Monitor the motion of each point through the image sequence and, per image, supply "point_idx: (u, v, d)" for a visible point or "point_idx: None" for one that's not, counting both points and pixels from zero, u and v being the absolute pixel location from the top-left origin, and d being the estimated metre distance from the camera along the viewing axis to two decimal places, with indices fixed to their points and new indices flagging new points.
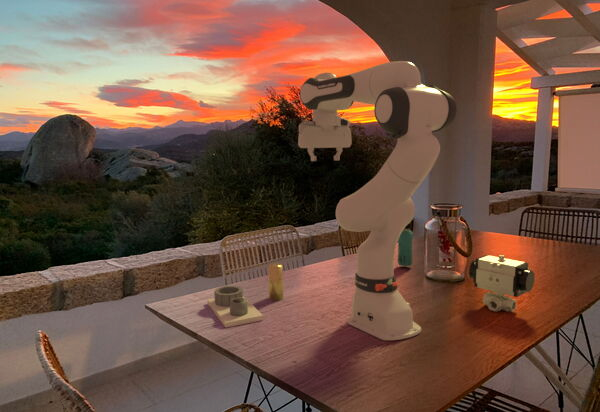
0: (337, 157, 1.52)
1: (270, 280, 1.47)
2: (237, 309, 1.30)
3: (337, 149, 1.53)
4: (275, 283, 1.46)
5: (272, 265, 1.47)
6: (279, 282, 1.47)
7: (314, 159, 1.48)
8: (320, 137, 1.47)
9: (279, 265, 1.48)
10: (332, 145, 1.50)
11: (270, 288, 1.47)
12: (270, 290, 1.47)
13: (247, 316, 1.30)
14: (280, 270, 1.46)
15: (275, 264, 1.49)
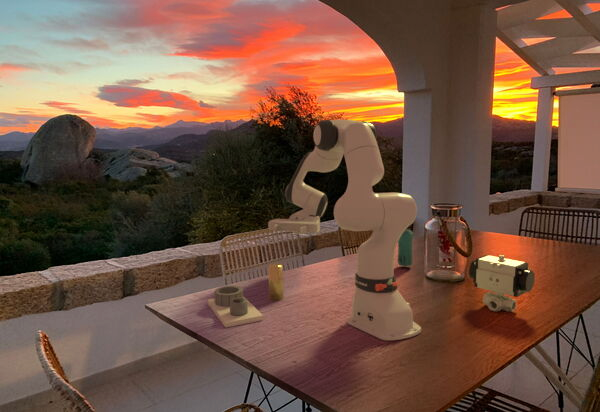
0: (299, 227, 1.57)
1: (270, 280, 1.47)
2: (237, 309, 1.30)
3: None
4: (275, 283, 1.46)
5: (272, 265, 1.47)
6: (279, 282, 1.47)
7: (275, 226, 1.60)
8: None
9: (279, 265, 1.48)
10: (296, 222, 1.62)
11: (270, 288, 1.47)
12: (270, 290, 1.47)
13: (247, 316, 1.30)
14: (280, 270, 1.46)
15: (275, 264, 1.49)
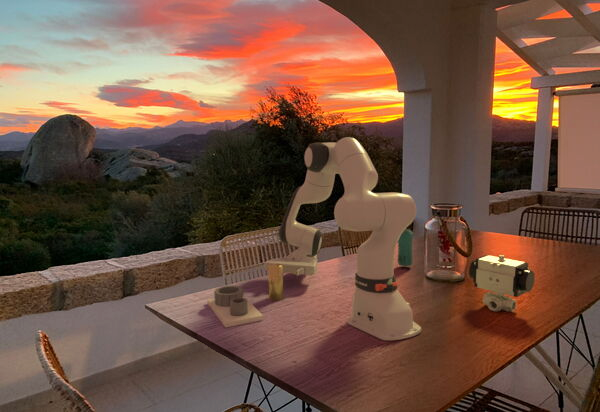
0: (296, 270, 1.55)
1: (270, 280, 1.47)
2: (237, 309, 1.30)
3: None
4: (275, 283, 1.46)
5: (272, 265, 1.47)
6: (279, 282, 1.47)
7: None
8: (284, 261, 1.64)
9: (279, 265, 1.48)
10: (293, 264, 1.60)
11: (270, 288, 1.47)
12: (270, 290, 1.47)
13: (247, 316, 1.30)
14: (280, 270, 1.46)
15: (275, 264, 1.49)
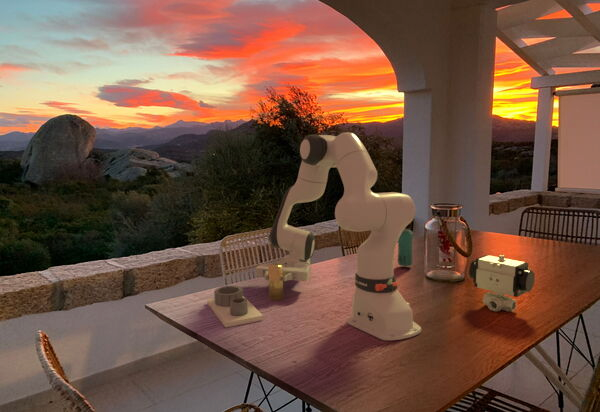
0: (283, 275, 1.48)
1: (270, 280, 1.47)
2: (237, 309, 1.30)
3: None
4: (275, 283, 1.46)
5: (272, 265, 1.47)
6: (279, 282, 1.47)
7: (266, 274, 1.49)
8: None
9: (279, 265, 1.48)
10: (285, 269, 1.52)
11: (270, 288, 1.47)
12: (270, 290, 1.47)
13: (247, 316, 1.30)
14: (280, 270, 1.46)
15: (275, 264, 1.49)
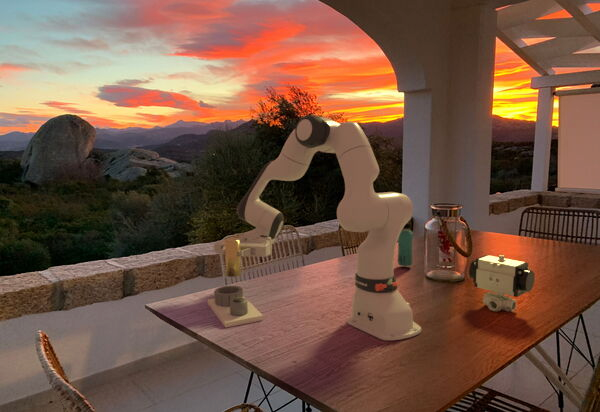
0: (240, 250, 1.40)
1: (226, 255, 1.40)
2: (237, 309, 1.30)
3: None
4: (231, 258, 1.39)
5: (229, 240, 1.40)
6: (236, 257, 1.40)
7: (223, 249, 1.42)
8: None
9: (236, 240, 1.40)
10: (243, 244, 1.45)
11: (226, 264, 1.40)
12: (226, 266, 1.40)
13: (247, 316, 1.30)
14: (237, 244, 1.39)
15: (232, 239, 1.42)
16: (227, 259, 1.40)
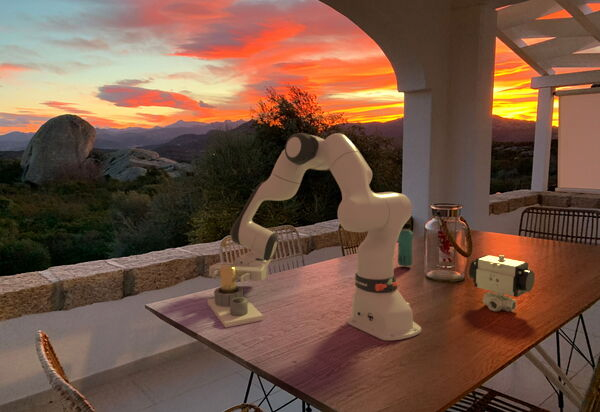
0: (240, 275, 1.40)
1: (222, 283, 1.40)
2: (237, 309, 1.30)
3: None
4: (226, 286, 1.39)
5: (224, 267, 1.40)
6: (231, 284, 1.40)
7: (214, 273, 1.43)
8: None
9: (231, 267, 1.40)
10: (239, 268, 1.45)
11: (222, 291, 1.40)
12: None
13: (247, 316, 1.30)
14: (232, 272, 1.39)
15: (228, 266, 1.42)
16: (223, 286, 1.40)
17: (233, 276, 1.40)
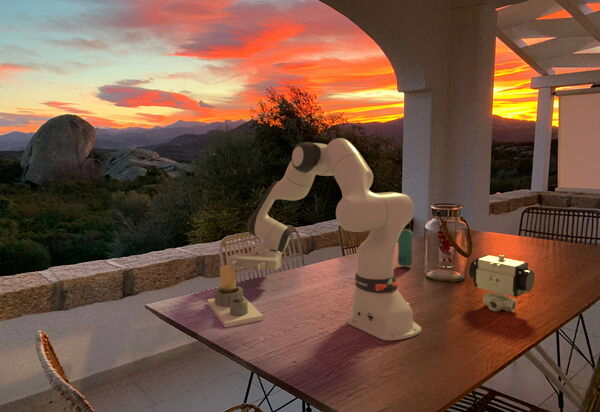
0: (257, 264, 1.52)
1: (222, 282, 1.40)
2: (237, 309, 1.30)
3: None
4: (226, 286, 1.39)
5: (224, 267, 1.41)
6: (231, 284, 1.40)
7: (233, 263, 1.55)
8: (247, 256, 1.61)
9: (231, 267, 1.41)
10: (255, 258, 1.57)
11: (222, 291, 1.40)
12: None
13: (247, 316, 1.30)
14: (232, 271, 1.40)
15: (228, 266, 1.42)
16: (223, 286, 1.40)
17: (233, 276, 1.40)
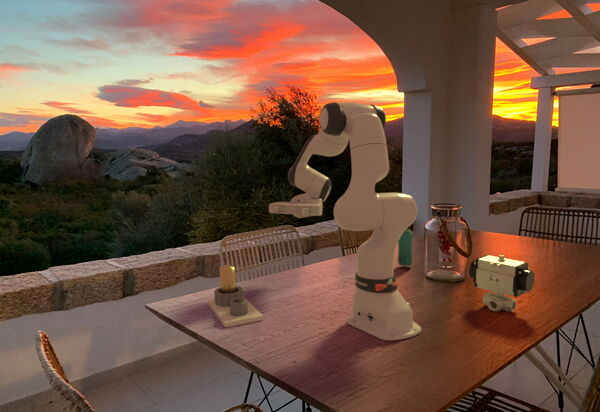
0: (301, 208, 1.52)
1: (222, 283, 1.40)
2: (237, 309, 1.30)
3: None
4: (226, 286, 1.39)
5: (223, 267, 1.40)
6: (231, 284, 1.40)
7: (276, 208, 1.55)
8: (289, 203, 1.61)
9: (231, 267, 1.41)
10: (298, 204, 1.57)
11: (222, 291, 1.40)
12: None
13: (247, 316, 1.30)
14: (232, 271, 1.40)
15: (227, 266, 1.42)
16: (222, 286, 1.40)
17: (233, 276, 1.40)
